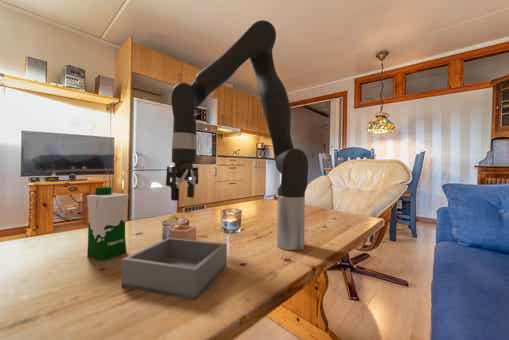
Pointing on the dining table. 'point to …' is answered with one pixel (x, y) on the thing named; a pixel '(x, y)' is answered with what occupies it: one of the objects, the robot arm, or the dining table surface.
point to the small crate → (183, 232)
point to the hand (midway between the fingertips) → (183, 198)
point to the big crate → (175, 267)
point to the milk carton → (106, 224)
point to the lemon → (173, 217)
